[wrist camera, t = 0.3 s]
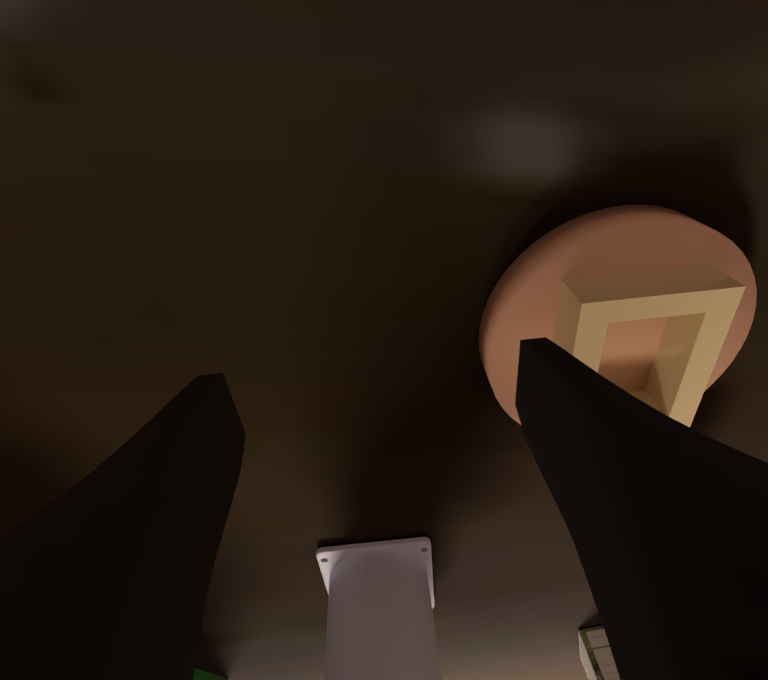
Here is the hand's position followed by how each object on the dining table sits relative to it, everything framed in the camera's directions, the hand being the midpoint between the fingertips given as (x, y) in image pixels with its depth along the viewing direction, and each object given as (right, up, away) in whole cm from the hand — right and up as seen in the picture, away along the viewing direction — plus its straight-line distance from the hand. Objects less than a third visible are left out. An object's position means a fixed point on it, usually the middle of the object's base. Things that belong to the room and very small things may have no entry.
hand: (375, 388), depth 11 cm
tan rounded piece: (+11, +2, +11) cm, 16 cm away
